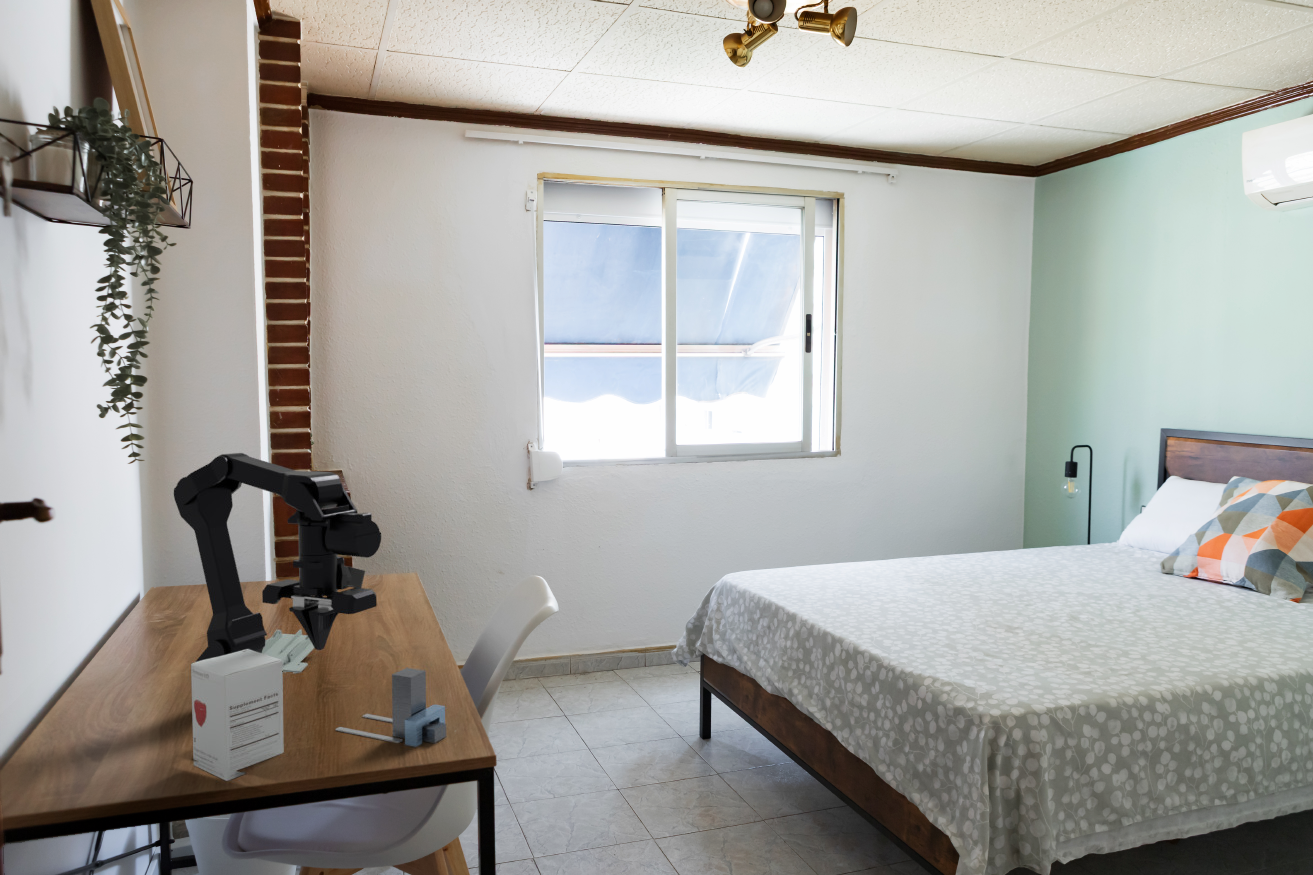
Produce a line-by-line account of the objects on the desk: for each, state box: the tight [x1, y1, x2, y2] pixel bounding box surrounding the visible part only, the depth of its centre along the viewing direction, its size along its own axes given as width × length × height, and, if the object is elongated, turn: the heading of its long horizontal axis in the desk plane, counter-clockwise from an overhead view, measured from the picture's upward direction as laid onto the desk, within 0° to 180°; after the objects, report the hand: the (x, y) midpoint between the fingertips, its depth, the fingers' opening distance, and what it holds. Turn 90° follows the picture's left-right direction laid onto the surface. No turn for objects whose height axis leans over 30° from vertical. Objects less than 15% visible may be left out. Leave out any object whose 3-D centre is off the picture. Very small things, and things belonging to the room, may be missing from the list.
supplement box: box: [190, 649, 284, 782], centre depth 126 cm, size 9×9×15 cm
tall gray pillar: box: [391, 667, 447, 744], centre depth 133 cm, size 8×4×10 cm, turn 67°
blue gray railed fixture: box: [335, 703, 446, 748], centre depth 136 cm, size 16×8×5 cm, turn 67°
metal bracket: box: [262, 629, 315, 674], centre depth 173 cm, size 14×6×15 cm
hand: (319, 649), depth 140 cm, fingers closed
